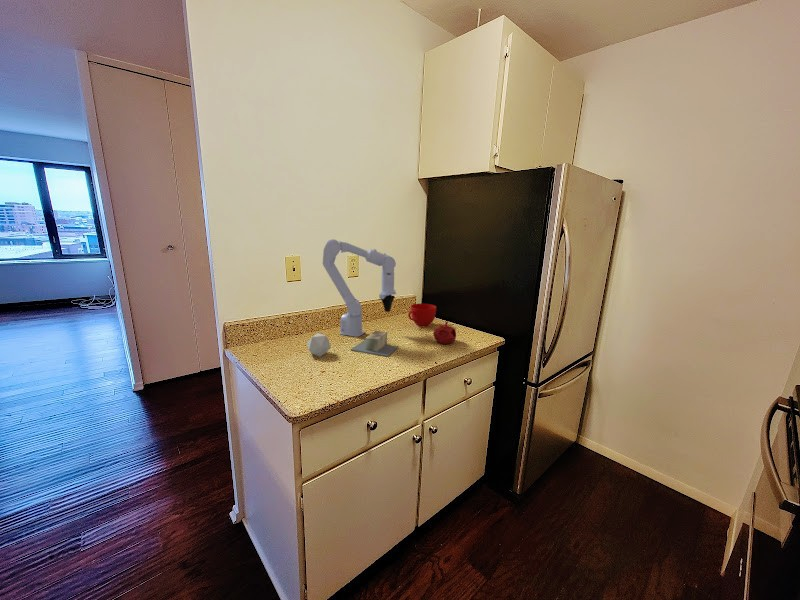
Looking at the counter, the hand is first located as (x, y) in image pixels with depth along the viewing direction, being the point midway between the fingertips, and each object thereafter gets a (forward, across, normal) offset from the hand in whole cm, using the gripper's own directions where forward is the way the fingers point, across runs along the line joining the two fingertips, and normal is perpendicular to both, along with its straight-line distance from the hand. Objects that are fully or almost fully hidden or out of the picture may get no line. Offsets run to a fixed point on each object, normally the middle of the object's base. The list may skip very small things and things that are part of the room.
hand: (387, 311), depth 151 cm
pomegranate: (+11, -1, -28) cm, 30 cm away
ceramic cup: (+11, +18, -11) cm, 23 cm away
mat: (+10, -22, -4) cm, 25 cm away
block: (+7, -15, -4) cm, 18 cm away
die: (+10, -36, +13) cm, 40 cm away
